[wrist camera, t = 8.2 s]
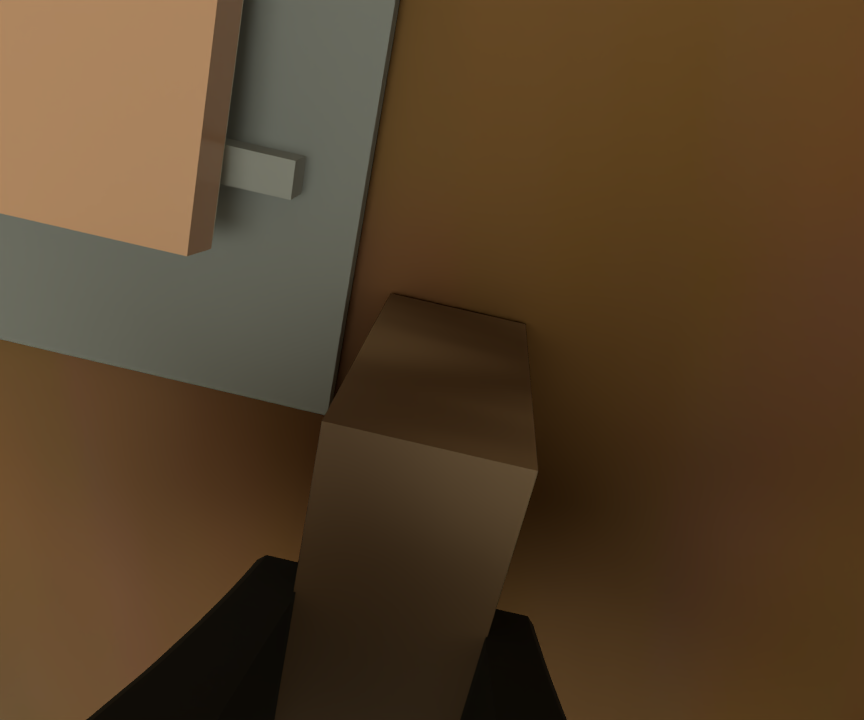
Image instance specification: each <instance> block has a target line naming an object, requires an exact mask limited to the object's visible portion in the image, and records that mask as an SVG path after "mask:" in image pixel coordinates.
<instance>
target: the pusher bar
mask: <svg viewBox="0 0 864 720" xmlns="http://www.w3.org/2000/svg"><path fill="white" fill-rule="evenodd" d="M537 473H538V463H537V451H536V439H535V428H534V416H533V404H532V393H531V381H530V369H529V357H528V346H527V334H526V324H522V323H518V322H514V321H509V320H505V319H501V318H496V317H492V316H487V315H483V314H479V313H474V312H470V311H466V310H461V309H457V308H452V307H448V306H444V305H439V304H435V303H431V302H426V301H422V300H418V299H413V298H409V297H404V296H400V295H396V294H390V296H389V298H388V299H387V301H386V303H385V305H384V307H383V309H382V310H381V312H380V314H379V316H378V318H377V320H376V322H375V323H374V325H373V327H372V329H371V331H370V333H369V335H368V336H367V338H366V340H365V342H364V344H363V346H362V347H361V349H360V351H359V353H358V355H357V357H356V359H355V360H354V362H353V364H352V366H351V368H350V370H349V372H348V373H347V375H346V377H345V379H344V381H343V383H342V385H341V386H340V388H339V390H338V392H337V394H336V396H335V397H334V399H333V401H332V403H331V405H330V407H329V409H328V410H327V412H326V414H325V416H324V418H323V420H322V423H321V429H320V435H319V441H318V447H317V453H316V459H315V465H314V471H313V477H312V483H311V489H310V495H309V501H308V507H307V513H306V519H305V525H304V531H303V537H302V543H301V549H300V555H299V561H298V567H297V573H296V579H295V585H294V591H293V592H296V594H295V600H294V606H293V612H292V618H291V624H290V630H289V636H288V642H287V648H286V654H285V660H284V665H283V671H282V677H281V683H280V689H279V695H278V701H277V707H276V713H275V719H274V720H460V719H461V715H462V712H463V709H464V706H465V702H466V699H467V696H468V693H469V689H470V686H471V683H472V679H473V676H474V673H475V670H476V666H477V663H478V660H479V657H480V653H481V650H482V647H483V644H484V640H485V637H487V636H488V633H489V630H490V627H491V623H492V620H493V617H494V614H495V610H496V607H497V604H498V601H499V597H500V594H501V591H502V588H503V584H504V581H505V578H506V575H507V571H508V568H509V565H510V561H511V558H512V555H513V552H514V548H515V545H516V542H517V539H518V535H519V532H520V529H521V526H522V522H523V519H524V516H525V513H526V509H527V506H528V503H529V500H530V496H531V493H532V490H533V486H534V483H535V480H536V477H537Z"/></svg>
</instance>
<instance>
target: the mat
mask: <svg viewBox="0 0 864 720" xmlns="http://www.w3.org/2000/svg"><path fill="white" fill-rule="evenodd" d="M399 3H400V0H244V1H243V9H242V17H241V25H240V32H239V40H238V48H237V56H236V63H235V71H234V79H233V87H232V95H231V102H230V110H229V118H228V126H227V133H226V141H225V149H224V157H223V165H222V172H221V180H220V188H219V196H218V203H217V211H216V219H215V227H214V235H213V239H212V246H211V249H209V250H206V251H203V252H200V253H196V254H193V255H190V256H183V255H179V254H175V253H170V252H166V251H162V250H157V249H153V248H149V247H144V246H140V245H136V244H131V243H127V242H123V241H118V240H114V239H110V238H105V237H101V236H97V235H92V234H88V233H84V232H79V231H75V230H70V229H66V228H62V227H57V226H53V225H49V224H44V223H40V222H36V221H31V220H27V219H23V218H18V217H14V216H10V215H5V214H1V213H0V339H2V340H6V341H10V342H15V343H19V344H23V345H27V346H32V347H36V348H40V349H44V350H49V351H53V352H57V353H62V354H66V355H70V356H74V357H79V358H83V359H87V360H91V361H96V362H100V363H104V364H108V365H113V366H117V367H121V368H126V369H130V370H134V371H138V372H143V373H147V374H151V375H155V376H160V377H164V378H168V379H173V380H177V381H181V382H185V383H190V384H194V385H198V386H202V387H207V388H211V389H215V390H219V391H224V392H228V393H232V394H237V395H241V396H245V397H249V398H254V399H258V400H262V401H266V402H271V403H275V404H279V405H284V406H288V407H292V408H296V409H301V410H305V411H309V412H313V413H318V414H322V415H325V414H326V412H327V410H328V409H329V407H330V405H331V403H332V401H333V397H334V391H335V385H336V379H337V373H338V367H339V361H340V355H341V349H342V343H343V337H344V331H345V325H346V319H347V313H348V307H349V301H350V295H351V289H352V284H353V278H354V272H355V266H356V260H357V254H358V248H359V242H360V236H361V230H362V224H363V218H364V212H365V206H366V200H367V194H368V188H369V182H370V176H371V170H372V164H373V158H374V152H375V146H376V140H377V134H378V128H379V122H380V116H381V110H382V104H383V98H384V92H385V86H386V80H387V74H388V68H389V62H390V56H391V50H392V44H393V39H394V33H395V27H396V21H397V15H398V9H399Z"/></svg>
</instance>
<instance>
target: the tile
mask: <svg viewBox="0 0 864 720" xmlns="http://www.w3.org/2000/svg"><path fill="white" fill-rule="evenodd" d="M243 1H244V0H0V213H1V214H5V215H10V216H14V217H18V218H23V219H27V220H31V221H36V222H40V223H44V224H49V225H53V226H57V227H62V228H66V229H70V230H75V231H79V232H84V233H88V234H92V235H97V236H101V237H105V238H110V239H114V240H118V241H123V242H127V243H131V244H136V245H140V246H144V247H149V248H153V249H157V250H162V251H166V252H170V253H175V254H179V255H183V256H190V255H193V254H196V253H200V252H203V251H206V250H209V249H211V246H212V239H213V235H214V227H215V219H216V211H217V203H218V196H219V188H220V180H221V172H222V165H223V157H224V149H225V141H226V133H227V126H228V118H229V110H230V102H231V95H232V87H233V79H234V71H235V63H236V56H237V48H238V40H239V32H240V25H241V17H242V9H243Z"/></svg>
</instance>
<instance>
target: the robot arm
mask: <svg viewBox="0 0 864 720" xmlns="http://www.w3.org/2000/svg"><path fill="white" fill-rule="evenodd" d="M297 567H298V562H293V561H289V560H285V559H281V558H276V557H272V556H268V555H266V556H264V557H262V558H260V559H258V560H257V561H256V562H255V563H254V564H253V565H252V567H251V568H250V569H249V570H248V571H247V572H246V573H245V575H244V576H243V577H242V578H241V579H240V580H239V581H238V582H237V583H236V584H235V585H234V586H233V588H232V589H231V590H230V591H229V592H228V593H227V594H226V595H225V596H224V597H223V598H222V599H221V600H220V601H219V602H218V603H217V604H216V605H215V606H214V607H213V608H212V609H211V610H210V611H209V612H208V613H207V614H206V615H205V616H204V617H203V618H202V619H201V620H200V621H199V622H198V623H197V624H196V625H195V626H194V627H192V628H191V629H190V630H189V631H188V632H187V633H186V634H185V635H184V636H183V637H182V638H181V639H179V640H178V641H177V642H176V643H175V644H174V645H173V646H172V647H171V648H170V649H169V650H168V651H167V652H165V653H164V654H163V655H162V656H161V657H160V658H159V659H158V660H157V661H156V662H155V663H153V664H152V665H151V666H150V667H149V668H148V669H147V670H145V671H144V672H143V673H142V674H141V675H140V676H138V677H137V678H136V679H135V680H134V681H132V682H131V683H130V684H129V685H128V686H126V687H125V688H124V689H123V690H122V691H120V692H119V693H118V694H117V695H116V696H114V697H113V698H112V699H111V700H110V701H108V702H107V703H106V704H105V705H104V706H102V707H101V708H100V709H99V710H98V711H96V712H95V713H94V714H93V715H92V716H90V717H89V718H88V719H87V720H274V719H275V713H276V707H277V701H278V695H279V689H280V683H281V677H282V671H283V665H284V660H285V654H286V648H287V642H288V636H289V630H290V624H291V618H292V612H293V606H294V600H295V594H296V592H293V591H294V585H295V579H296V573H297ZM460 720H567V719H566V717H565V714H564V712H563V709H562V707H561V704H560V701H559V699H558V696H557V693H556V691H555V688H554V685H553V683H552V680H551V677H550V674H549V672H548V669H547V666H546V663H545V660H544V657H543V654H542V651H541V648H540V645H539V642H538V639H537V636H536V633H535V630H534V626H533V624H532V622H531V621H530V619H529V618H528V616H523V615H519V614H515V613H511V612H506V611H502V610H498V609H496V610H495V614H494V617H493V620H492V623H491V627H490V630H489V633H488V636H487V637H485V640H484V644H483V647H482V650H481V653H480V657H479V660H478V663H477V666H476V670H475V673H474V676H473V679H472V683H471V686H470V689H469V693H468V696H467V699H466V702H465V706H464V709H463V712H462V715H461V719H460Z"/></svg>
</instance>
